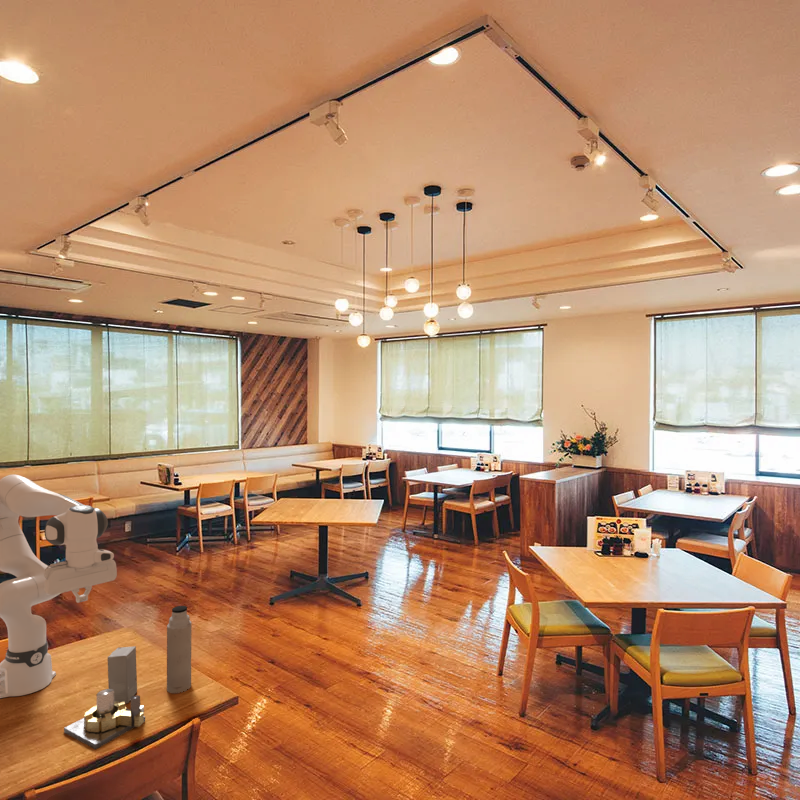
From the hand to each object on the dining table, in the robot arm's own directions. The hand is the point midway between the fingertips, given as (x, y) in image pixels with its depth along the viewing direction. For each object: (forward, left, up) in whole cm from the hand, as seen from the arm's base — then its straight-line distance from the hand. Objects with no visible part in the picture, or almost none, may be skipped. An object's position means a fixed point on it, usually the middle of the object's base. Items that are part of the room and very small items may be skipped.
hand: (81, 601), depth 174 cm
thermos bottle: (+11, +28, -37) cm, 48 cm away
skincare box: (0, +14, -37) cm, 40 cm away
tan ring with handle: (+14, +2, -35) cm, 38 cm away
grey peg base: (+11, +1, -37) cm, 39 cm away
